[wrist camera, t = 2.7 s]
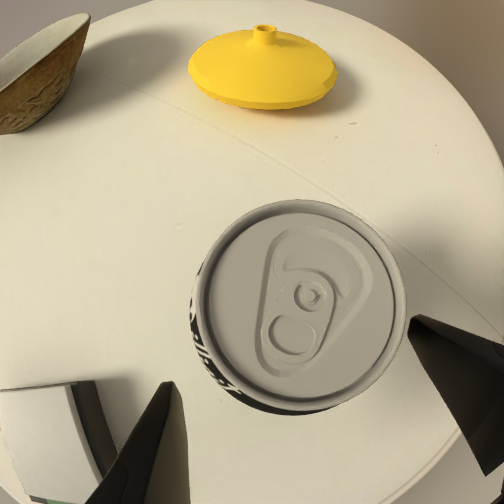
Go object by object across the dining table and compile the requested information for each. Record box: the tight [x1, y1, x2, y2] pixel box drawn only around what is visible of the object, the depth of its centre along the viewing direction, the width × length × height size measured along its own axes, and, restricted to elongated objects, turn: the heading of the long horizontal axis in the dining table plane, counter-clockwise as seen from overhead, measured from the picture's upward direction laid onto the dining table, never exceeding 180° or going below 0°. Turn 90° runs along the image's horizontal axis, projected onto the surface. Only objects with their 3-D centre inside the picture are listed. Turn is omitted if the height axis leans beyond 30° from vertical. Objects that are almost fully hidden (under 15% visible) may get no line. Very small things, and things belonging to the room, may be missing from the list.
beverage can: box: [190, 199, 407, 416], centre depth 13 cm, size 7×7×12 cm
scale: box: [0, 380, 118, 504], centre depth 13 cm, size 10×10×3 cm
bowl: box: [0, 13, 91, 135], centre depth 23 cm, size 24×24×10 cm
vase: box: [188, 25, 338, 110], centre depth 24 cm, size 16×16×7 cm
